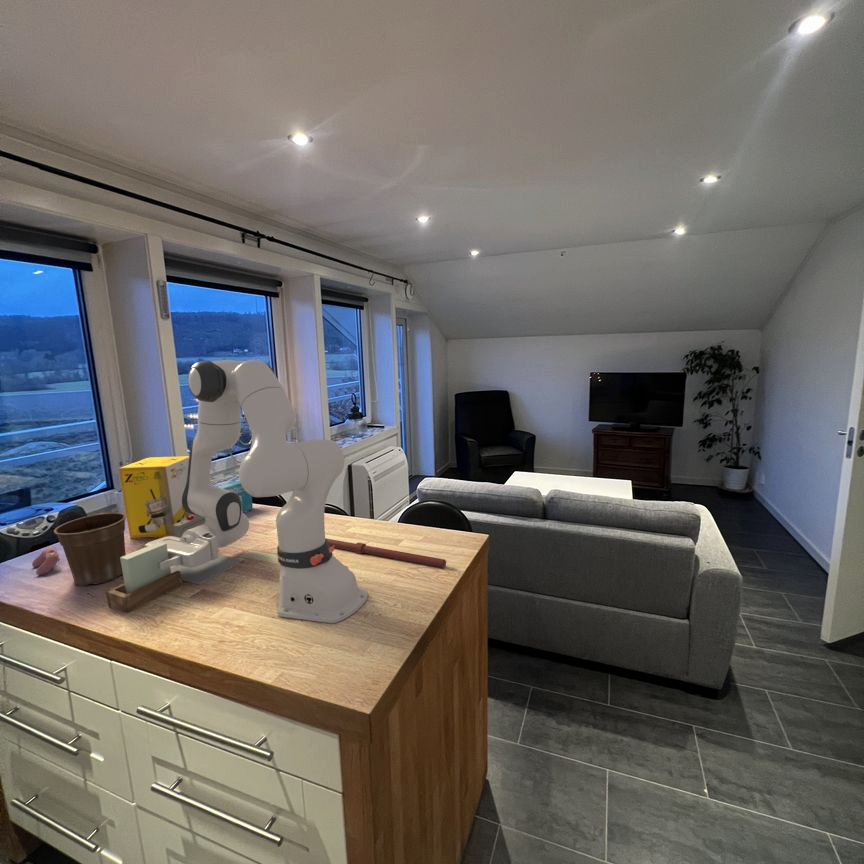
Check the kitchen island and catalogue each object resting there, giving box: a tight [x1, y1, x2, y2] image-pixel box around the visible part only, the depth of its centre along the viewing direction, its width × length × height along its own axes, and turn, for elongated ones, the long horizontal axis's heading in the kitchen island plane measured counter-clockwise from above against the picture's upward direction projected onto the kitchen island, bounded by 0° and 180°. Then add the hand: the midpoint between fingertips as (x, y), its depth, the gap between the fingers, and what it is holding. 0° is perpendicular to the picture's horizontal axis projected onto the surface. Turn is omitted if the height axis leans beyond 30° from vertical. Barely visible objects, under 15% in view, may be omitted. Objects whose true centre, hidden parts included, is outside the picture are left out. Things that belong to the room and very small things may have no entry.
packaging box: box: [118, 455, 193, 539], centre depth 161 cm, size 16×16×25 cm
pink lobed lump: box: [31, 546, 61, 576], centre depth 134 cm, size 10×5×7 cm, turn 48°
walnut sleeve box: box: [105, 571, 183, 614], centre depth 116 cm, size 8×14×4 cm, turn 154°
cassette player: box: [172, 515, 205, 538], centre depth 149 cm, size 16×3×10 cm, turn 160°
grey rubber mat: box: [170, 553, 245, 585], centre depth 131 cm, size 16×15×1 cm
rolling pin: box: [325, 537, 447, 569], centre depth 134 cm, size 45×3×3 cm, turn 64°
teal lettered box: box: [217, 480, 253, 513], centre depth 176 cm, size 12×4×12 cm, turn 144°
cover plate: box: [120, 542, 171, 594], centre depth 116 cm, size 3×10×12 cm, turn 154°
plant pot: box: [53, 512, 127, 587], centre depth 127 cm, size 16×16×16 cm
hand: (148, 563), depth 116 cm, fingers open, 7 cm apart
